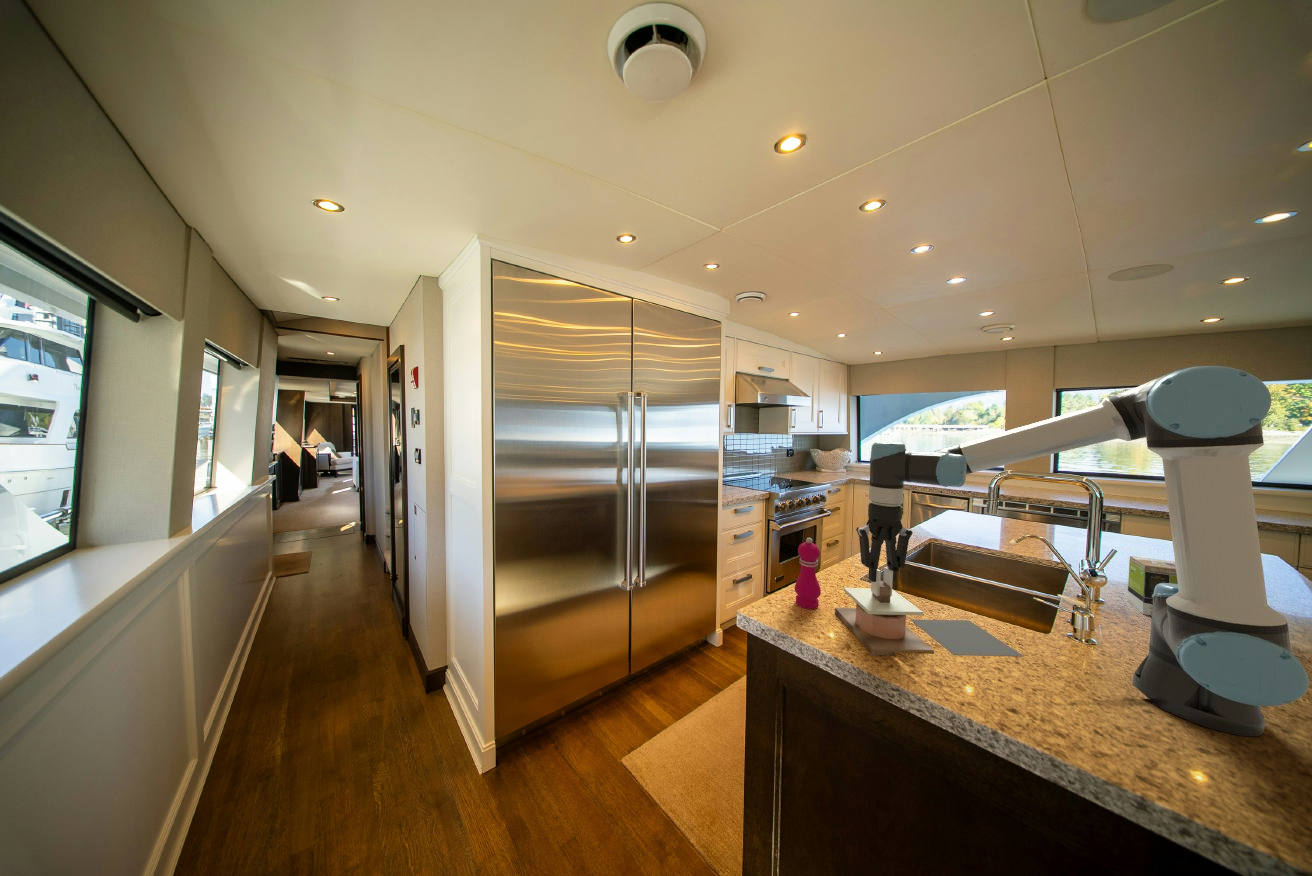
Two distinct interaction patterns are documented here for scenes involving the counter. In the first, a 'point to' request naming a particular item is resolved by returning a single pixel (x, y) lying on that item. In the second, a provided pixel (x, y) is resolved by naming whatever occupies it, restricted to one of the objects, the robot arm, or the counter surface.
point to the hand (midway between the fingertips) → (881, 593)
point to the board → (882, 644)
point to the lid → (882, 601)
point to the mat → (965, 638)
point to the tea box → (1148, 580)
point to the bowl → (881, 624)
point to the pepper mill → (808, 576)
